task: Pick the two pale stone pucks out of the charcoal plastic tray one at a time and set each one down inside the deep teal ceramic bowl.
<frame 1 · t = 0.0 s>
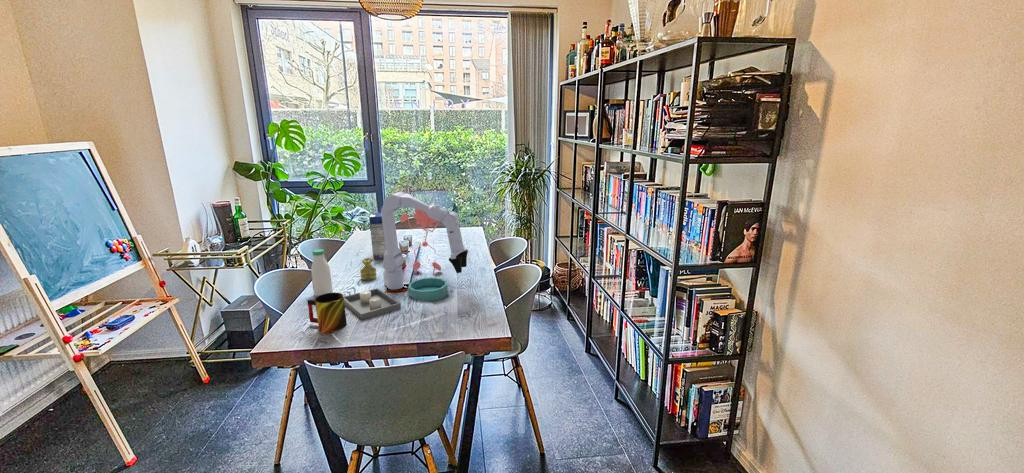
hand: (461, 269, 191), 11 cm above the table, tool pointing down, fingers open, 7 cm apart
olive yellow vase: (368, 278, 213), on the table
stone 2: (375, 308, 175), point 1 cm above the table, touching tray
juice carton: (381, 256, 248), on the table
milk bottle: (323, 294, 194), on the table
stone 1: (366, 301, 183), point 1 cm above the table, touching tray
figurine: (429, 270, 223), on the table
tray: (370, 306, 179), on the table
mug: (327, 328, 161), on the table
bowl: (428, 293, 193), on the table
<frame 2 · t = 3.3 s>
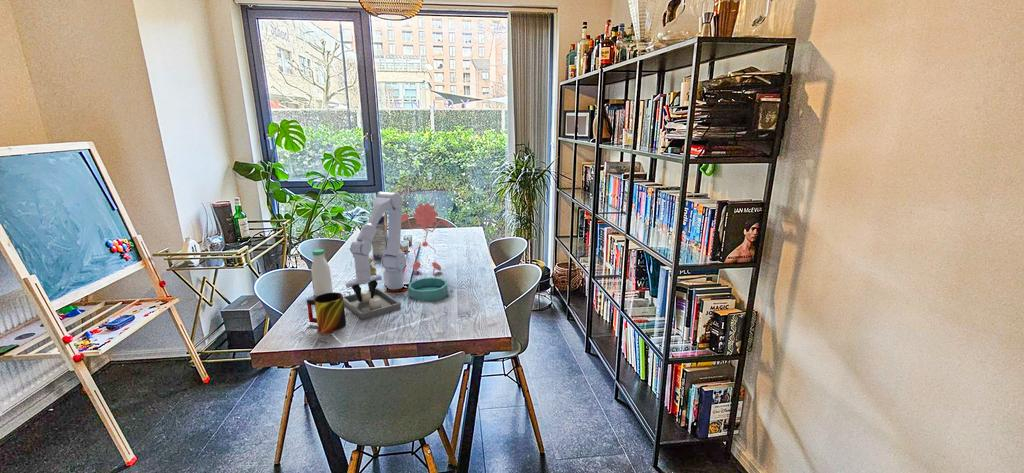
hand: (365, 299, 183), 2 cm above the table, tool pointing down, fingers closed on stone 1, 4 cm apart
stone 1: (366, 301, 183), point 1 cm above the table, touching gripper, tray
everything else where it was.
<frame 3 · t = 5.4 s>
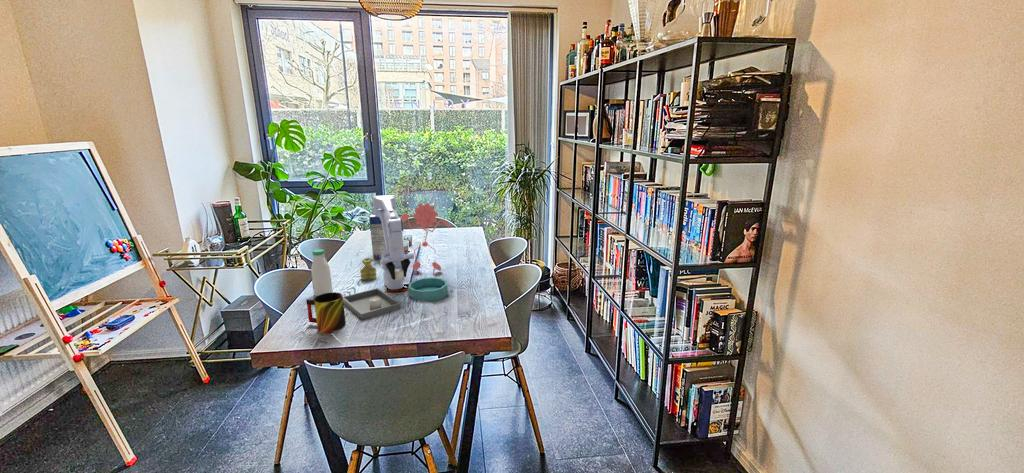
hand: (398, 277, 187), 9 cm above the table, tool pointing down, fingers closed on stone 1, 4 cm apart
stone 1: (398, 279, 187), point 8 cm above the table, touching gripper
everything else where it was.
when the fingers open (3 cm above the table, at t = 7.6 s): stone 1 drops 2 cm, resting on bowl.
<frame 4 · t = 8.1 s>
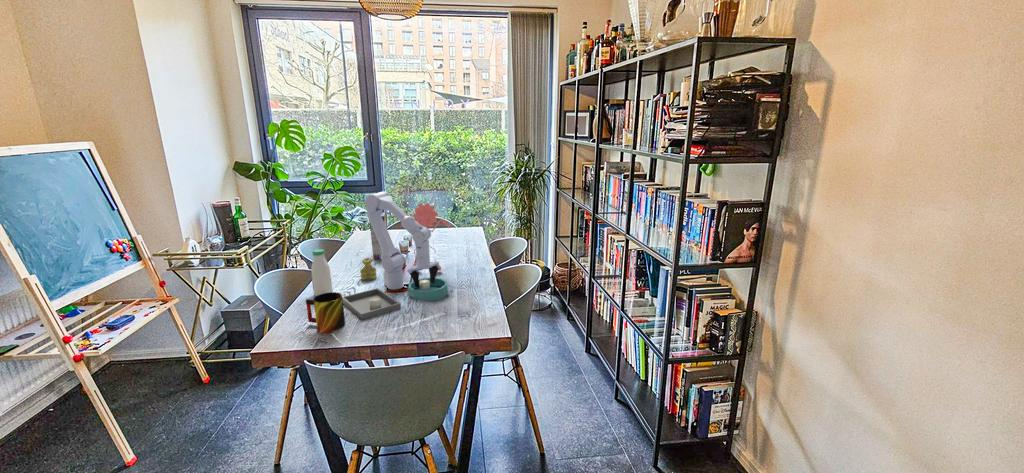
hand: (424, 284, 194), 3 cm above the table, tool pointing down, fingers open, 7 cm apart
stone 1: (425, 289, 194), point 1 cm above the table, touching bowl
everything else where it was.
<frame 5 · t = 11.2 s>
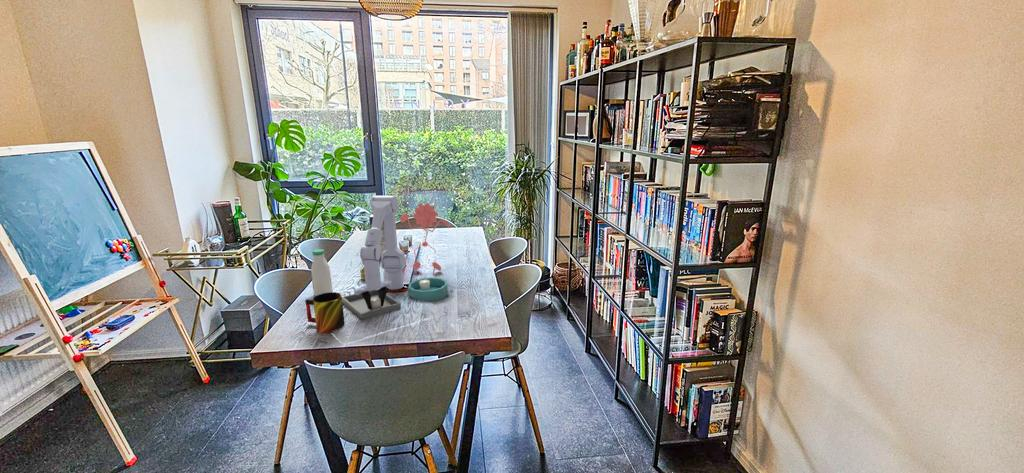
hand: (375, 307, 175), 2 cm above the table, tool pointing down, fingers closed on stone 2, 4 cm apart
stone 2: (375, 308, 175), point 1 cm above the table, touching gripper, tray
everything else where it was.
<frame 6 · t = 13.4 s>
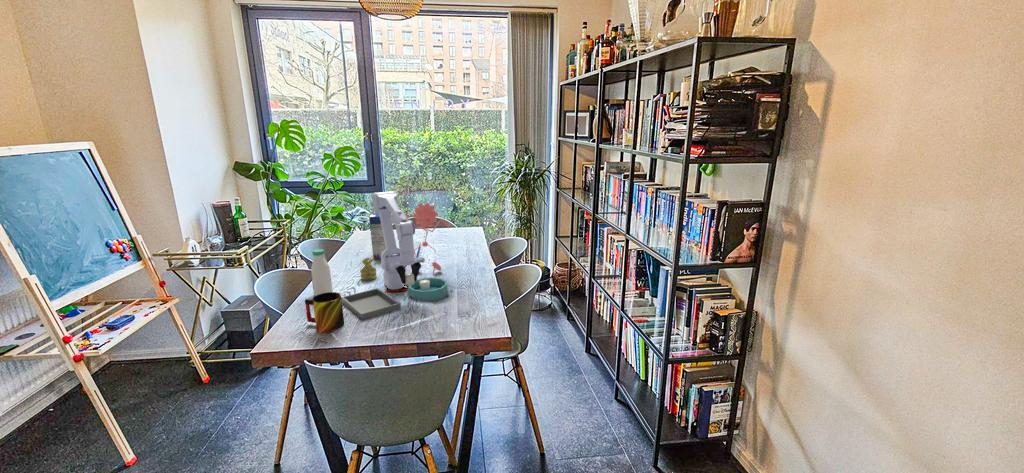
hand: (409, 281, 182), 9 cm above the table, tool pointing down, fingers closed on stone 2, 4 cm apart
stone 2: (409, 283, 182), point 8 cm above the table, touching gripper
when the fingers open (3 cm above the table, at t = 15.6 s): stone 2 drops 2 cm, resting on bowl.
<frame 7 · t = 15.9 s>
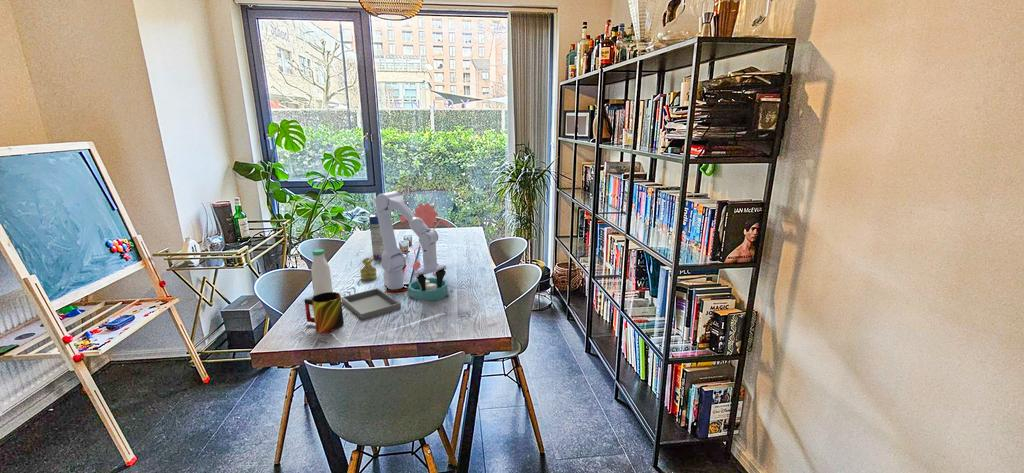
hand: (431, 288, 189), 3 cm above the table, tool pointing down, fingers open, 7 cm apart
stone 2: (432, 293, 190), point 1 cm above the table, touching bowl
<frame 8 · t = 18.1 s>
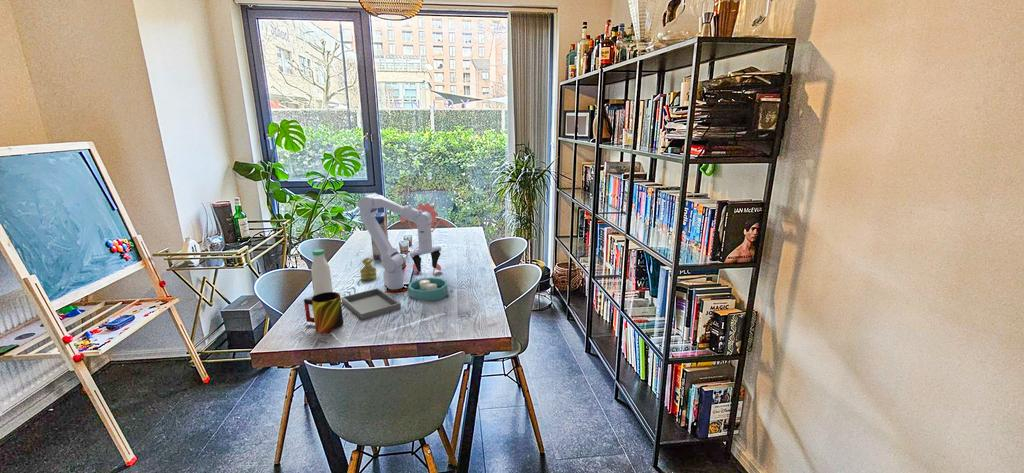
hand: (426, 269, 194), 10 cm above the table, tool pointing down, fingers open, 7 cm apart
at the end: stone 1 inside the target area on the bowl (2.9 cm from its centre), point 1.0 cm above the bowl's base; stone 2 inside the target area on the bowl (3.1 cm from its centre), point 1.0 cm above the bowl's base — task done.
